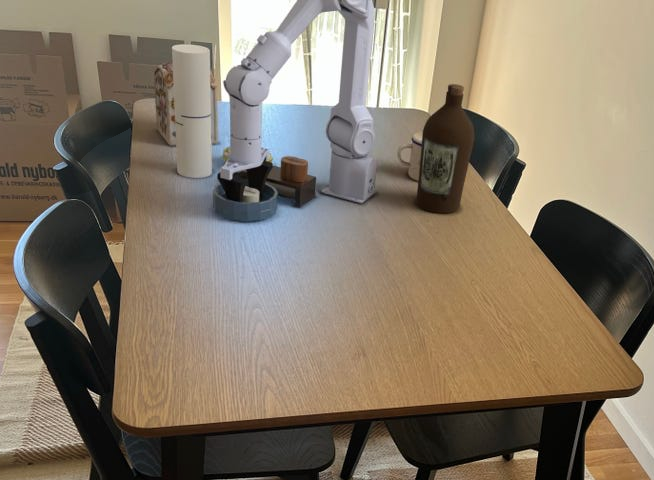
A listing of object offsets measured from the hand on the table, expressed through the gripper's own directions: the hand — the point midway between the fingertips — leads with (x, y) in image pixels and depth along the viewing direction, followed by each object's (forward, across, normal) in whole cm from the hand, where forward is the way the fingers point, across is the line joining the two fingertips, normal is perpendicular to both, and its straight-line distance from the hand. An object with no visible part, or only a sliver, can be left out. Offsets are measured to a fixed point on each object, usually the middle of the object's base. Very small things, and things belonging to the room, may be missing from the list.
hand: (245, 203), depth 147 cm
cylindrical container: (+2, -11, -19) cm, 22 cm away
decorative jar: (+2, -28, -33) cm, 43 cm away
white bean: (+1, 0, 0) cm, 1 cm away
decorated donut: (+2, -21, -12) cm, 24 cm away
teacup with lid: (+2, -41, +22) cm, 47 cm away
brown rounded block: (-3, -11, +5) cm, 12 cm away
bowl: (+1, 0, 0) cm, 1 cm away
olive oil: (+2, -27, +31) cm, 41 cm away
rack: (+1, -11, 0) cm, 11 cm away
